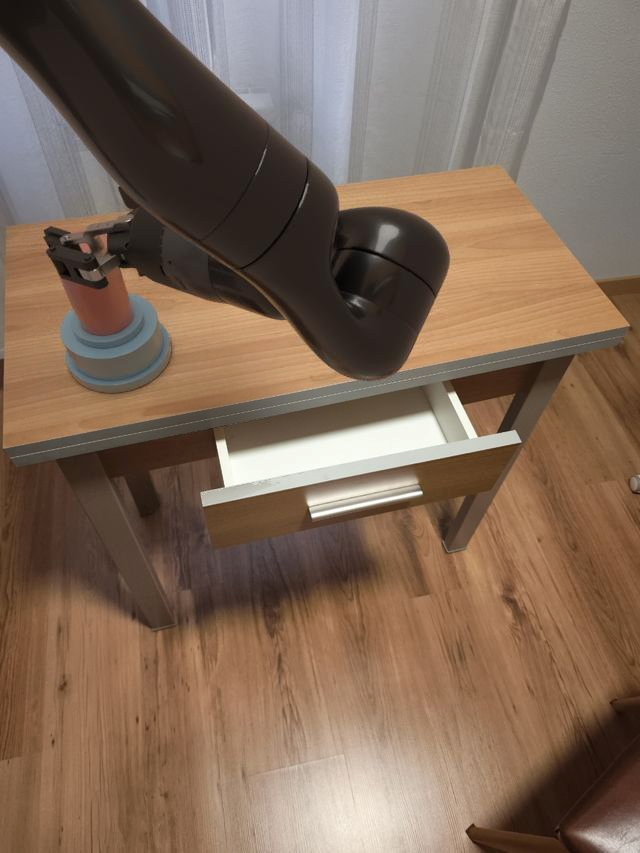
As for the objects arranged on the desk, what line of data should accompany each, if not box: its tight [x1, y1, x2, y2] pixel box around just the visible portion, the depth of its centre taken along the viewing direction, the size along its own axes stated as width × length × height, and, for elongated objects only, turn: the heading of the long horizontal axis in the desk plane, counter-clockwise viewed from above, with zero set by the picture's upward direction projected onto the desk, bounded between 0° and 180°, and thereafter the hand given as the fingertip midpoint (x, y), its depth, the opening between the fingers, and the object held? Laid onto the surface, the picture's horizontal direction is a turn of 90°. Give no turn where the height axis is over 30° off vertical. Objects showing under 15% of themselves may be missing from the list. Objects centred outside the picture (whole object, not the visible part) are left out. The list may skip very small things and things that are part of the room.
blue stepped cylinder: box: [59, 292, 172, 394], centre depth 71 cm, size 13×13×7 cm
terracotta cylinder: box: [55, 229, 134, 336], centre depth 64 cm, size 6×6×10 cm
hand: (89, 216), depth 53 cm, fingers open, 8 cm apart
